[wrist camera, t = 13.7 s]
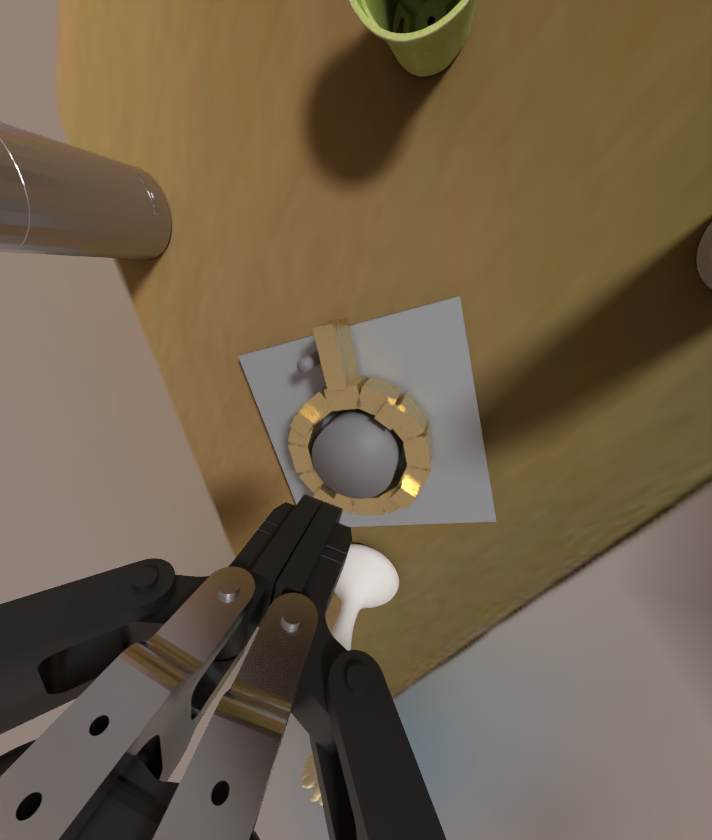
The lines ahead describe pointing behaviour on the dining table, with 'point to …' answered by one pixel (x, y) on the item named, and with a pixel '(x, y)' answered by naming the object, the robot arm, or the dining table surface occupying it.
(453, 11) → the plant pot
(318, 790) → the flower in vase
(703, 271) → the thermos bottle
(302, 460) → the segmented wooden ring
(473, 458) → the boss plate
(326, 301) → the dining table surface
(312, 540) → the robot arm
